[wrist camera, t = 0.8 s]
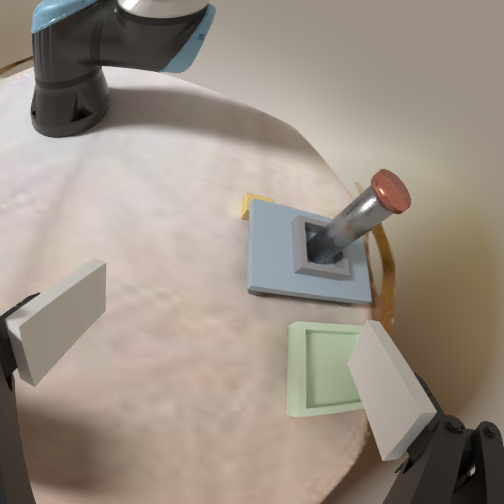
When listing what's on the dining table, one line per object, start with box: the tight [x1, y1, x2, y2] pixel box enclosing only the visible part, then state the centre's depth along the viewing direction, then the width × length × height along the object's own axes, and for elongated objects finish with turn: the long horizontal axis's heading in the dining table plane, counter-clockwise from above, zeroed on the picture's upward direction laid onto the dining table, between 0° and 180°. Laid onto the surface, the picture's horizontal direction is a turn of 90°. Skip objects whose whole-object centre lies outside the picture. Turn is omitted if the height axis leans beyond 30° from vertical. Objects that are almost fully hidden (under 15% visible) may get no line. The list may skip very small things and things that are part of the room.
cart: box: [241, 193, 372, 306], centre depth 40 cm, size 15×18×7 cm
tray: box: [287, 321, 364, 417], centre depth 35 cm, size 12×12×3 cm
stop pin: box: [306, 169, 411, 264], centre depth 32 cm, size 5×5×15 cm
